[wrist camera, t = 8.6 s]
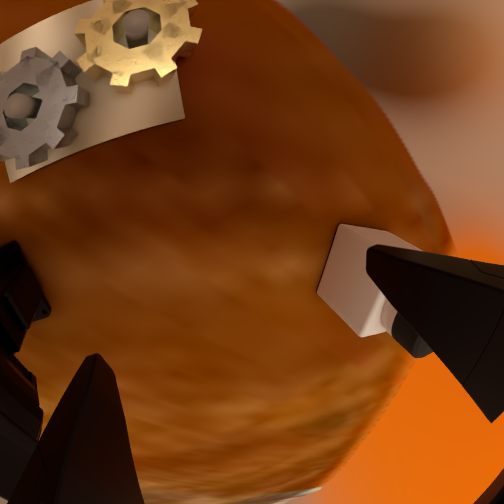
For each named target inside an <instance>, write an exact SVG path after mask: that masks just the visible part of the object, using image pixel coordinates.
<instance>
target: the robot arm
mask: <svg viewBox="0 0 504 504" xmlns="http://www.w3.org/2000/svg"><path fill="white" fill-rule="evenodd" d="M11 246H13V247H14V248H15V250H13V249H12V247H11ZM366 272H367V274H368V276H369V277H370V278H371V280H372V281H373V282H374V283H375V285H376V286H377V287H378V288H379V290H380V291H381V292H382V293H383V295H384V296H385V297H386V299H387V300H388V301H389V302H390V304H391V305H392V306H393V307H394V308H395V309H396V311H397V312H398V313H399V314H400V315H401V316H402V317H403V318H404V319H405V320H406V321H407V322H408V323H409V325H410V326H411V327H412V328H413V329H414V330H415V331H416V332H417V333H418V335H419V336H420V337H421V338H422V339H423V340H424V341H425V342H426V343H427V345H428V346H429V347H430V348H431V349H432V350H433V352H434V353H435V354H436V355H437V356H438V357H439V358H440V360H441V361H442V362H443V363H444V364H445V366H446V367H447V368H448V369H449V370H450V372H451V373H452V374H453V375H454V376H455V378H456V379H457V380H458V381H459V382H460V384H461V385H462V386H463V387H464V389H465V390H466V392H467V393H468V394H469V395H470V397H471V398H472V399H473V400H474V402H475V403H476V404H477V406H478V407H479V408H480V410H481V411H482V412H483V414H484V415H485V416H486V418H487V419H488V420H489V421H490V422H491V423H492V422H493V421H494V420H496V419H497V417H499V415H501V414H502V413H503V412H504V265H498V264H491V263H485V262H479V261H474V260H468V259H463V258H458V257H452V256H447V255H441V254H435V253H429V252H424V251H418V250H412V249H406V248H400V247H393V246H387V245H381V244H375V245H373V246H371V247H369V248H368V249H367V251H366ZM43 309H45V310H46V311H47V312H46V311H44V310H43ZM50 313H51V308H50V306H49V304H48V303H47V301H46V299H45V297H44V296H43V292H42V290H41V288H40V287H39V285H38V283H37V281H36V279H35V277H34V275H33V273H32V271H31V269H30V267H29V266H28V264H27V262H26V260H25V258H24V256H23V254H22V251H21V249H20V247H19V245H18V243H17V242H16V241H10V242H8V243H6V244H4V245H2V246H0V497H1V498H3V499H5V500H7V501H8V503H7V504H144V500H143V497H142V494H141V490H140V486H139V483H138V479H137V475H136V471H135V466H134V462H133V457H132V453H131V448H130V443H129V437H128V432H127V426H126V420H125V416H124V412H123V408H122V404H121V400H120V396H119V391H118V387H117V382H116V377H115V374H114V372H113V370H112V369H111V368H110V366H109V365H108V364H107V363H106V361H105V360H104V359H103V358H102V356H101V355H100V354H98V353H95V354H92V355H89V356H87V357H86V358H85V359H84V361H83V363H82V364H81V366H80V368H79V369H78V371H77V372H76V374H75V376H74V377H73V379H72V381H71V383H70V384H69V386H68V388H67V389H66V391H65V393H64V395H63V396H62V398H61V400H60V402H59V403H58V405H57V407H56V409H55V411H54V413H53V414H52V416H51V418H50V420H49V422H48V424H47V426H46V428H45V430H44V432H43V434H42V436H41V438H40V435H41V430H42V424H43V410H42V409H41V408H40V407H39V398H38V392H37V382H36V377H35V376H34V375H33V374H32V373H31V372H29V371H28V370H27V369H26V368H25V367H24V366H23V365H22V364H21V363H20V361H19V360H18V359H17V358H16V357H15V353H16V352H19V351H20V348H21V345H22V342H23V340H24V337H25V334H26V332H27V330H28V329H29V328H30V326H31V323H32V322H33V321H36V320H39V319H42V318H46V317H48V316H49V315H50ZM39 438H40V440H39ZM38 440H39V441H38ZM474 504H504V469H503V470H502V471H501V472H500V474H499V475H498V476H497V478H496V479H495V480H494V481H493V482H492V484H491V485H490V486H489V487H488V488H487V489H486V491H485V492H484V493H483V494H482V495H481V496H480V497H479V498H478V499H477V500H476V501H475V502H474Z"/></svg>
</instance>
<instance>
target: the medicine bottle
mask: <svg viewBox="0 0 504 504" xmlns="http://www.w3.org/2000/svg"><path fill="white" fill-rule="evenodd" d="M375 244H381V245H387V246H393V247H400V248H406V249H412V250H418V251H422V250H420V249H419V248H417V247H415V246H413V245H412V244H410V243H408V242H406V241H404V240H403V239H401V238H399V237H397V236H395V235H394V234H392V233H390V232H388V231H383V230H377V229H371V228H365V227H359V226H353V225H346V224H340V225H339V226H338V228H337V232H336V235H335V238H334V241H333V245H332V248H331V251H330V254H329V257H328V260H327V263H326V266H325V269H324V272H323V275H322V278H321V281H320V284H319V287H318V290H317V294H318V295H319V296H320V297H321V298H322V299H323V300H324V301H325V302H326V303H327V304H328V305H329V306H330V307H331V308H332V309H333V310H334V311H335V312H336V313H337V314H338V315H339V316H340V317H341V318H342V319H343V320H344V321H345V322H346V323H347V324H348V326H349V327H350V328H351V329H352V330H353V331H354V332H355V333H356V334H357V335H358V336H360V337H365V336H369V335H374V334H378V333H382V332H386V331H387V333H389V334H390V335H391V336H392V337H393V338H394V339H395V340H396V341H397V342H398V343H399V344H400V345H401V346H402V347H404V348H405V349H406V350H407V351H408V352H409V353H410V354H411V355H412V356H413V357H414V358H422V357H425V356H427V355H428V354H430V353H432V352H433V350H432V349H431V348H430V347H429V346H428V345H427V343H426V342H425V341H424V340H423V339H422V338H421V337H420V336H419V335H418V333H417V332H416V331H415V330H414V329H413V328H412V327H411V326H410V325H409V323H408V322H407V321H406V320H405V319H404V318H403V317H402V316H401V315H400V314H399V313H398V312H397V311H396V309H395V308H394V307H393V306H392V305H391V304H390V302H389V301H388V300H387V299H386V297H385V296H384V295H383V293H382V292H381V291H380V290H379V288H378V287H377V286H376V285H375V283H374V282H373V281H372V280H371V278H370V277H369V276H368V274H367V272H366V251H367V249H368V248H369V247H371V246H373V245H375Z"/></svg>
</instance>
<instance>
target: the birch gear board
mask: <svg viewBox="0 0 504 504" xmlns="http://www.w3.org/2000/svg"><path fill="white" fill-rule="evenodd" d="M103 4H104V3H103V0H92V1H89V2H86V3H83V4H81V5H78V6H75V7H73V8H70V9H68V10H65V11H63V12H60V13H58V14H56V15H54V16H51V17H49V18H47V19H45V20H43V21H41V22H39V23H37V24H35V25H33V26H31V27H29V28H27V29H25V30H24V31H22V32H20V33H18V34H16V35H15V36H13V37H11V38H10V39H8V40H6V41H5V42H3V43H2V44H0V71H3V72H7V71H8V70H10V69H11V68H12V67H13V66H15V65H16V64H17V63H19V62H20V58H21V52H22V51H24V50H27V49H30V48H33V47H37V48H38V49H40V50H41V51H43V52H44V53H45V54H47V55H48V56H50V57H51V58H53V57H54V56H55V55H56V54H57V53H58V52H59V50H60V51H61V52H62V53H63V54H64V55H65V56H66V57H68V58H69V59H70V60H71V61H72V62H73V63H74V64H75V65H77V66H78V67H79V68H80V69H81V70H82V71H81V72H80V73H79V74H78V75H77V76H76V78H75V81H76V84H77V85H79V86H80V87H82V88H83V89H85V90H87V91H88V92H90V100H89V107H87V108H81V109H79V111H78V114H77V116H76V119H75V121H74V124H73V127H72V128H73V129H74V130H75V131H76V132H77V133H79V134H78V135H77V137H76V138H75V139H74V141H73V142H72V143H71V144H70V146H67V147H62V148H58V149H54V150H53V149H52V148H50V149H48V160H47V161H44V162H42V163H39V164H36V165H34V166H31V167H28V168H23V169H19V170H16V165H15V158H11V159H8V160H5V165H6V169H7V173H8V177H9V181H10V183H12V182H14V181H16V180H18V179H20V178H22V177H24V176H26V175H27V174H29V173H31V172H33V171H35V170H38V169H40V168H42V167H44V166H46V165H48V164H50V163H52V162H55V161H57V160H59V159H62V158H64V157H66V156H69V155H71V154H73V153H76V152H78V151H81V150H83V149H86V148H89V147H91V146H94V145H97V144H99V143H102V142H105V141H108V140H111V139H114V138H117V137H120V136H123V135H126V134H129V133H132V132H136V131H139V130H142V129H146V128H149V127H153V126H157V125H161V124H164V123H168V122H172V121H177V120H181V119H184V118H185V115H184V109H183V104H182V98H181V93H180V87H179V81H178V75H177V70H176V72H175V74H174V76H173V78H172V79H171V80H169V81H168V82H166V83H164V84H163V85H161V86H160V87H159V86H158V85H157V83H156V82H155V80H154V79H152V80H148V81H144V82H141V83H137V84H134V86H133V90H132V94H122V93H116V92H115V90H114V89H113V88H112V87H111V86H110V82H111V79H110V78H108V77H106V76H104V75H103V76H102V77H101V78H99V79H98V80H97V81H94V80H93V79H91V78H90V77H89V76H88V75H87V74H86V73H85V72H84V71H83V69H82V68H81V67H80V65H79V64H78V62H77V61H76V60H77V59H78V58H79V57H81V56H82V55H83V54H85V53H86V49H85V47H84V46H83V45H82V43H81V42H80V41H79V39H78V38H77V37H76V36H75V34H74V32H75V30H76V27H77V25H78V22H79V20H80V19H89V18H92V16H93V15H94V14H95V13H96V12H97V11H98V10H99V9H100V8H101V7H102V5H103ZM123 25H124V30H125V34H124V35H123V37H122V38H121V39H120V40H119V41H118V44H120V45H122V46H124V47H126V48H128V49H132V48H135V47H139V46H144V45H148V44H150V43H151V42H152V40H153V39H154V38H155V37H156V36H157V33H156V32H154V31H153V30H151V29H149V15H148V13H147V12H146V11H144V10H140V9H137V10H133V11H131V12H129V13H128V14H127V15H126V16H125V17H124V19H123ZM174 63H175V61H174ZM175 65H176V63H175ZM41 104H42V98H41V95H40V92H38V93H36V94H35V95H34V96H27V95H23V94H19V93H15V94H13V95H11V96H10V97H9V98H8V99H7V101H6V103H5V107H4V112H5V115H6V116H7V117H9V118H26V120H27V123H28V125H30V124H31V123H32V122H34V121H35V120H36V117H37V114H38V112H39V109H40V106H41Z"/></svg>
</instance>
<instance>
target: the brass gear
mask: <svg viewBox="0 0 504 504" xmlns="http://www.w3.org/2000/svg"><path fill="white" fill-rule="evenodd" d="M103 3H104V4H103V5H102V7H101V8H100V9H99V10H98V11H97V12H96V13H95V14H94V15H93V16H92V18H89V19H80V20H79V22H78V25H77V27H76V30H75V32H74V34H75V36H76V37H77V38H78V39H79V41H80V42H81V43H82V45H83V46H84V47H85V49H86V53H85V54H83V55H82V56H81V57H79V58H78V59H77V60H76V61H77V62H78V64H79V65H80V67H81V68H82V69H83V71H84V72H85V73H86V74H87V75H88V76H89V77H90V78H91V79H93V80H94V81H97V80H98V79H99V78H101V77H102V76H103V75H104V76H106V77H108V78H110V79H111V82H110V86H111V87H112V88H113V89H114V90H115V92H116V93H122V94H132V90H133V86H134V84H137V83H141V82H144V81H148V80H152V79H154V80H155V82H156V83H157V85H158V86H159V87H160V86H161V85H163V84H164V83H166V82H168V81H169V80H171V79H172V78H173V76H174V74H175V72H176V69H177V66H176V65H175V63H174V61H175V60H176V59H177V58H178V56H182V57H188V58H189V57H190V55H191V54H192V52H193V50H194V49H195V47H196V46H197V44H198V41H199V38H200V35H201V32H202V29H200V28H195V27H190V21H191V19H192V16H193V14H194V12H195V10H196V8H197V6H198V3H197V2H196V0H103ZM137 9H140V10H144V11H146V12H147V13H148V15H149V29H151V30H153V31H154V32H156V33H157V36H156V37H155V38H154V39H153V40H152V42H151V43H150V44H148V45H144V46H139V47H135V48H132V49H128V48H126V47H124V46H122V45H120V44H118V41H119V40H120V39H121V38H122V37H123V35H124V34H125V30H124V25H123V19H124V17H125V16H126V15H127V14H128V13H129V12H131V11H133V10H137Z"/></svg>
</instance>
